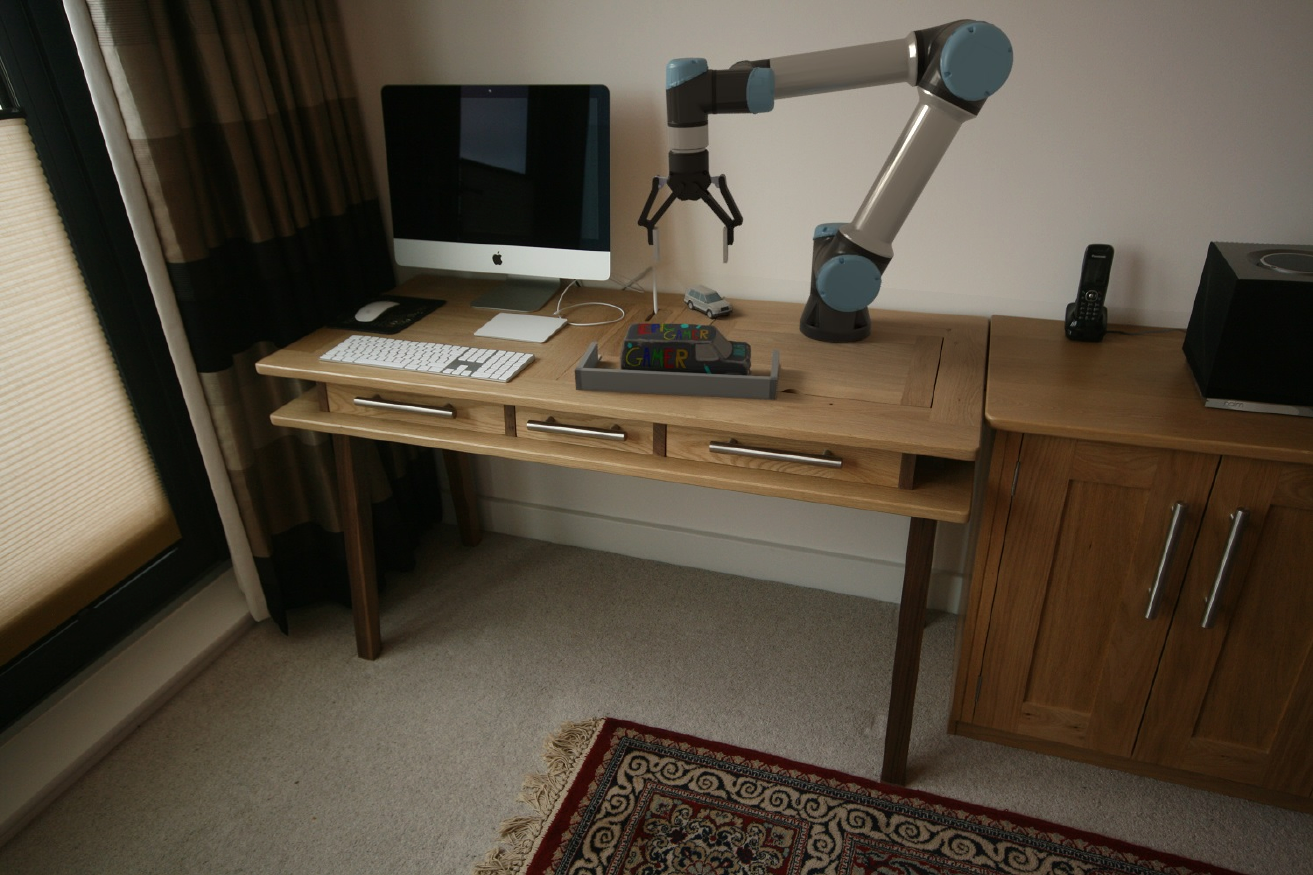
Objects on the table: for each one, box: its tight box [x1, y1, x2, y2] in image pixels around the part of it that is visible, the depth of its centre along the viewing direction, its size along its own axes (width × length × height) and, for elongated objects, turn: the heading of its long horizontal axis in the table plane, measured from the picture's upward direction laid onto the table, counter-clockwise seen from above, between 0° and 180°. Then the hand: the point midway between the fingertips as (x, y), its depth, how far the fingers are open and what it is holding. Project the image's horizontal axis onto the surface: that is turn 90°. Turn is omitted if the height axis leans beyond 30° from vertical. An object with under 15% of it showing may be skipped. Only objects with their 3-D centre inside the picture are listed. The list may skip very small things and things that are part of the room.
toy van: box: [619, 323, 752, 376], centre depth 165 cm, size 11×25×10 cm, turn 83°
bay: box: [574, 341, 780, 401], centre depth 167 cm, size 37×17×4 cm, turn 81°
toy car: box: [683, 284, 733, 320], centre depth 199 cm, size 6×13×5 cm, turn 33°
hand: (691, 261), depth 171 cm, fingers open, 13 cm apart
